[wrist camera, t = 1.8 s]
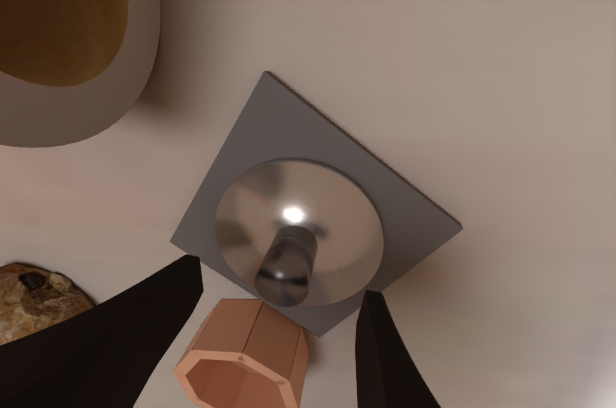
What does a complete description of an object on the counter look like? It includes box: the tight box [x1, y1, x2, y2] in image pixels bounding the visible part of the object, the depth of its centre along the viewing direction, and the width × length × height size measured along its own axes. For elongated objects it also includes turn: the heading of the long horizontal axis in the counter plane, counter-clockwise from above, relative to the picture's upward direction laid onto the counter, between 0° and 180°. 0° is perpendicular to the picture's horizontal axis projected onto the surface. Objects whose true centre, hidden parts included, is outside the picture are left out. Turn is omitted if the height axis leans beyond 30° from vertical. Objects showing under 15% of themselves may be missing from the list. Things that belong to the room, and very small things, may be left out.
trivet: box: [170, 71, 463, 338], centre depth 16 cm, size 12×12×1 cm
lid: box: [215, 157, 384, 307], centre depth 14 cm, size 9×9×4 cm
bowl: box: [173, 299, 309, 408], centre depth 19 cm, size 8×8×4 cm
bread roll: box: [0, 264, 94, 345], centre depth 22 cm, size 10×10×8 cm
